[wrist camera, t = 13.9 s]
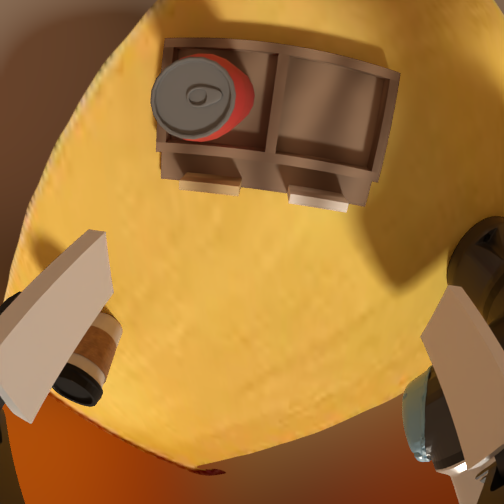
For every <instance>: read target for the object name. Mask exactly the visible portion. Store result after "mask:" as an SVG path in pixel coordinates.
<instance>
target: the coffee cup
mask: <svg viewBox="0 0 504 504" xmlns="http://www.w3.org/2000/svg"><path fill="white" fill-rule="evenodd" d="M121 335H122V327H121V325H120V324H119V322H118V321H117V320H116V319H115V318H113V317H112V316H110V315H108V314H106V313H99V314H98V316H97V317H96V318H95V320H94V321H93V323H92V324H91V326H90V327H89V329H88V330H87V332H86V333H85V335H84V336H83V338H82V339H81V341H80V342H79V344H78V345H77V347H76V349H75V350H74V352H73V353H72V355H71V356H70V358H69V360H68V361H67V363H66V364H65V366H64V368H63V369H62V371H61V373H60V374H59V376H58V378H57V379H56V381H55V383H54V384H53V386H52V388H53V389H54V390H55V391H56V392H57V393H59V394H60V395H61V396H63V397H65V398H67V399H69V400H71V401H73V402H75V403H78V404H81V405H84V406H89V407H91V406H95V405H96V404H97V402H98V401H99V400H100V399H101V396H102V394H103V390H102V386H103V384H104V383H105V382H106V378H107V375H108V372H109V369H110V366H111V363H112V360H113V357H114V354H115V351H116V348H117V345H118V343H119V340H120V338H121Z"/></svg>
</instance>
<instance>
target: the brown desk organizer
mask: <svg viewBox="0 0 504 504" xmlns="http://www.w3.org/2000/svg"><path fill="white" fill-rule="evenodd" d="M198 53H199V54H214V55H216V56H219V57H222V58H224V59H226V60H228V61H229V62H230V63H232V64H233V65H234V66H236V67H237V68H238V69H239V70H241V71H242V72H243V73H244V74H245V75H247V76H248V78H249V79H250V81H251V83H252V85H253V88H254V93H255V97H254V104H253V107H252V109H251V111H250V113H249V114H248V115H247V116H246V117H245V118H244V119H243V120H242V121H241V122H240V123H239V124H238V125H236V126H235V127H234V128H233V129H232V130H230V131H229V132H228V133H226V134H224V135H222V136H220V137H219V138H217V139H213V140H209V141H204V142H198V141H187V140H184V139H181V138H179V137H176V136H174V135H171V134H169V133H168V132H167V131H166V130H164V129H163V128H162V127H161V126H160V125H159V123H158V122H157V139H156V152H162V158H161V179H172V180H179V190H188V191H197V192H206V193H215V194H224V195H232V196H239V192H240V189H241V187H245V188H253V189H260V190H268V191H275V192H282V193H287V194H288V201H289V203H290V204H297V205H303V206H310V207H316V208H322V209H328V210H334V211H340V212H346V213H347V209H348V205H349V204H354V205H359V206H364V207H365V205H366V202H367V198H368V194H369V190H370V186H371V183H372V181H373V182H378V180H379V177H380V173H381V169H382V164H383V160H384V156H385V152H386V147H387V143H388V138H389V134H390V129H391V124H392V119H393V114H394V109H395V103H396V98H397V92H398V86H399V79H400V73H399V72H396V71H393V70H390V69H387V68H384V67H381V66H378V65H374V64H371V63H367V62H364V61H360V60H357V59H353V58H349V57H345V56H341V55H337V54H333V53H328V52H324V51H319V50H314V49H309V48H303V47H297V46H291V45H285V44H278V43H270V42H262V41H252V40H240V39H225V38H165V43H164V51H163V59H162V69H161V72H162V71H163V70H164V69H165V68H166V67H167V66H169V65H170V64H172V63H173V62H175V61H176V60H179V59H181V58H183V57H187V56H190V55H194V54H198Z"/></svg>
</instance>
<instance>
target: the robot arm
mask: <svg viewBox="0 0 504 504" xmlns="http://www.w3.org/2000/svg"><path fill="white" fill-rule="evenodd" d="M447 283H448V287H447V289H446V291H445V293H444V295H443V297H442V299H441V301H440V302H439V304H438V306H437V308H436V310H435V312H434V314H433V315H432V317H431V319H430V321H429V323H428V324H427V326H426V328H425V330H424V331H423V333H422V335H421V336H420V337H421V339H422V341H423V343H424V346H425V348H426V350H427V353H428V355H429V357H430V360H431V362H432V366H430V367H429V368H428V369H427V371H425V372H424V373H423V374H421V375H420V376H418V377H417V378H415V379H414V380H412V381H411V382H410V383H409V384H408V385H407V387H406V389H405V391H404V394H403V401H402V402H403V403H402V416H403V423H404V429H405V433H406V437H407V440H408V444H409V446H410V449H411V451H412V452H414V456H415V458H416V459H417V460H418V461H420V462H428V461H430V460H432V461H433V464H434V467H435V469H436V471H437V472H440V473H443V474H447V475H449V476H451V479H452V482H453V485H454V488H455V491H456V494H457V498H458V501H459V504H504V218H503V217H498V216H496V217H490V218H487V219H485V220H483V221H481V222H479V223H478V224H476V225H475V226H474V227H472V228H471V229H470V230H469V231H468V232H467V233H466V235H465V236H464V237H463V238H462V240H461V241H460V242H459V244H458V245H457V247H456V249H455V251H454V253H453V255H452V258H451V260H450V263H449V267H448V273H447ZM113 293H114V291H113V285H112V279H111V272H110V265H109V257H108V249H107V241H106V232H103V231H96V230H90V229H89V230H88V231H87V232H85V233H84V234H83V235H82V236H81V237H80V238H78V239H77V240H76V241H75V242H74V243H73V244H72V245H70V246H69V247H68V248H67V249H66V250H65V251H64V252H63V253H62V254H60V255H59V256H58V257H57V258H56V259H55V260H54V261H53V262H52V263H51V264H50V265H49V266H48V267H47V268H46V269H44V270H43V271H42V272H41V273H40V274H39V275H38V276H37V277H36V278H35V279H34V280H33V281H32V282H31V283H30V284H29V285H28V286H27V287H26V288H25V289H24V290H23V291H22V292H20V291H19V292H18V293H16V294H14V295H13V296H11V297H10V298H8V299H7V300H6V301H5V302H4V303H3V304H2V305H1V306H0V504H25V502H24V499H23V496H22V492H21V489H20V486H19V482H18V478H17V475H16V471H15V466H14V462H13V458H12V453H11V448H10V444H9V437H8V431H7V425H6V417H5V414H4V411H3V409H2V407H3V405H4V404H6V405H7V406H8V407H9V409H10V410H11V411H12V412H13V413H14V414H15V415H17V416H19V417H20V418H22V419H24V420H25V421H27V422H29V423H30V424H31V423H32V422H33V420H34V418H35V416H36V414H37V412H38V411H39V409H40V407H41V405H42V403H43V402H44V400H45V398H46V396H47V395H48V393H49V391H50V389H51V388H52V386H53V384H54V383H55V381H56V379H57V378H58V376H59V374H60V373H61V371H62V369H63V368H64V366H65V364H66V363H67V361H68V360H69V358H70V356H71V355H72V353H73V352H74V350H75V349H76V347H77V345H78V344H79V342H80V341H81V339H82V338H83V336H84V335H85V333H86V332H87V330H88V329H89V327H90V326H91V324H92V323H93V321H94V320H95V318H96V317H97V316H98V314H99V313H100V311H101V310H102V308H103V307H104V305H105V304H106V303H107V301H108V300H109V298H110V297H111V296H112V294H113Z"/></svg>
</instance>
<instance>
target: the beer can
mask: <svg viewBox="0 0 504 504" xmlns="http://www.w3.org/2000/svg"><path fill="white" fill-rule="evenodd" d="M254 97H255V93H254V88H253V85H252V83H251V81H250V79H249V78H248V76H247V75H245V74H244V73H243V72H242V71H241V70H239V69H238V68H237V67H236V66H234V65H233V64H232V63H230V62H229V61H228V60H226V59H224V58H222V57H219V56H216V55H214V54H199V53H198V54H194V55H190V56H187V57H183V58H181V59H179V60H176V61H175V62H173V63H172V64H170V65H169V66H167V67H166V68H165V69H164V70H163V71H162V72H161V73H160V75H159V76H158V77H157V78H156V81H155V83H154V85H153V88H152V91H151V107H152V111H153V115H154V117H155V119H156V120H157V122H158V123H159V125H160V126H161V127H162V128H163V129H164V130H166V131H167V132H168V133H169V134H171V135H174V136H176V137H179V138H181V139H184V140H187V141H198V142H204V141H209V140H213V139H217V138H219V137H220V136H222V135H224V134H226V133H228V132H229V131H230V130H232V129H233V128H234V127H235V126H236V125H238V124H239V123H240V122H241V121H242V120H243V119H244V118H245V117H246V116H247V115H248V114H249V113H250V111H251V109H252V107H253V104H254Z"/></svg>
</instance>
